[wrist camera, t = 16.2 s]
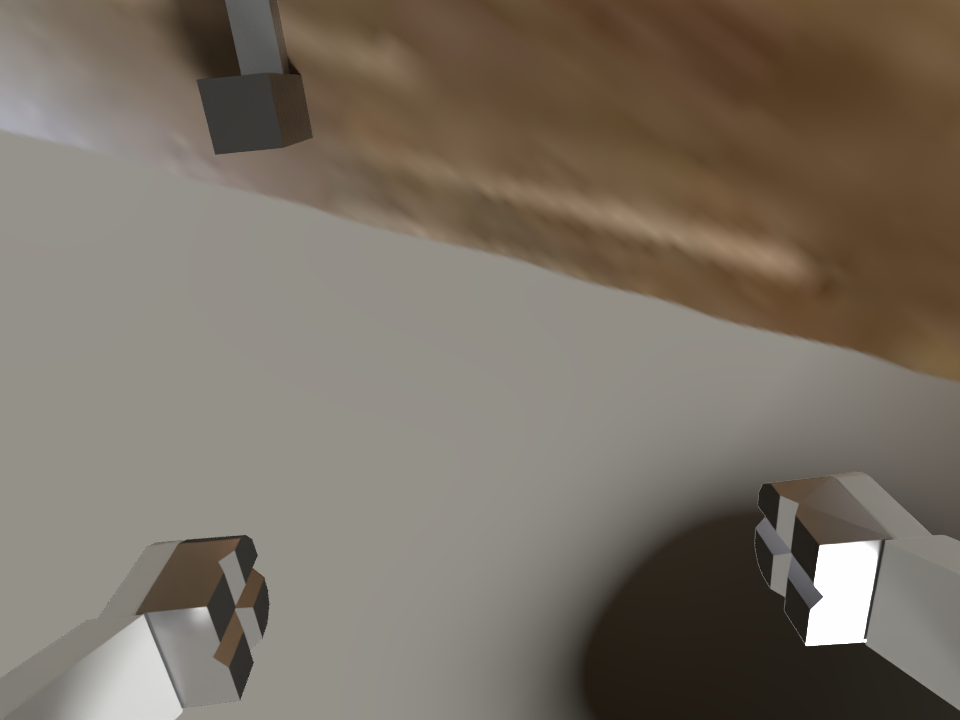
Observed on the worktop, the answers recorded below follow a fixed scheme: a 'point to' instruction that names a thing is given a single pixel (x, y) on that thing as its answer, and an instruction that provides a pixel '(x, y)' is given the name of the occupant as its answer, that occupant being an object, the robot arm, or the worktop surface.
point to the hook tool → (256, 86)
